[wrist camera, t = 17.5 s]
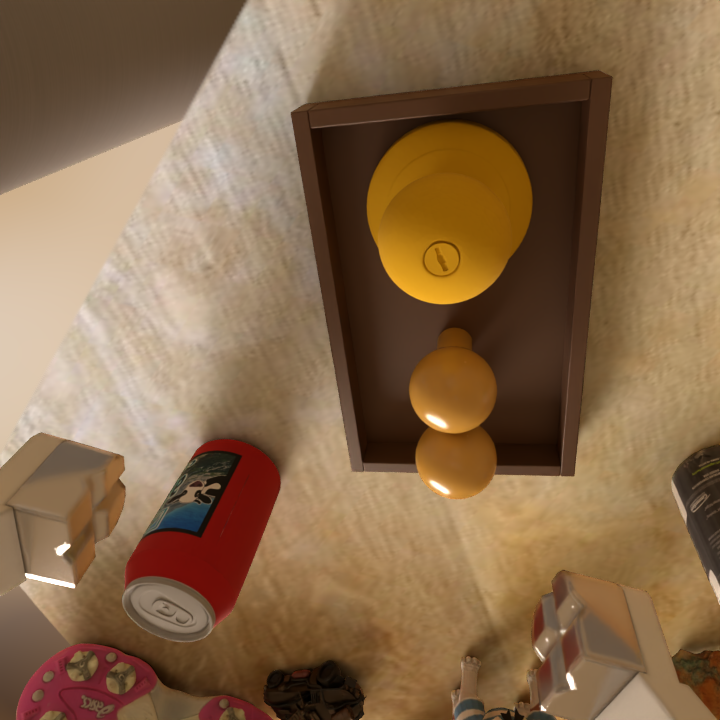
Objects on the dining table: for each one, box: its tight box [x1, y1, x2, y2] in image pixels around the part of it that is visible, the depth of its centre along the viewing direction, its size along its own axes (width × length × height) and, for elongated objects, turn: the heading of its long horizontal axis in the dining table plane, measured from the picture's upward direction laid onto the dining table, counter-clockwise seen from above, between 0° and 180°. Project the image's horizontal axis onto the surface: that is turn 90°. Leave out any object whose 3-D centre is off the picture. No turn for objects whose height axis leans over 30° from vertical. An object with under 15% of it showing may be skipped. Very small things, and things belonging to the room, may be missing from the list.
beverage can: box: [122, 439, 281, 642], centre depth 37 cm, size 7×7×12 cm
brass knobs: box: [409, 328, 497, 499], centre depth 31 cm, size 4×9×7 cm, turn 7°
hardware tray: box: [291, 70, 612, 476], centre depth 31 cm, size 14×22×3 cm, turn 7°
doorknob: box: [367, 119, 533, 304], centre depth 25 cm, size 8×8×8 cm
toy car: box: [263, 661, 366, 720], centre depth 54 cm, size 6×12×4 cm, turn 116°
